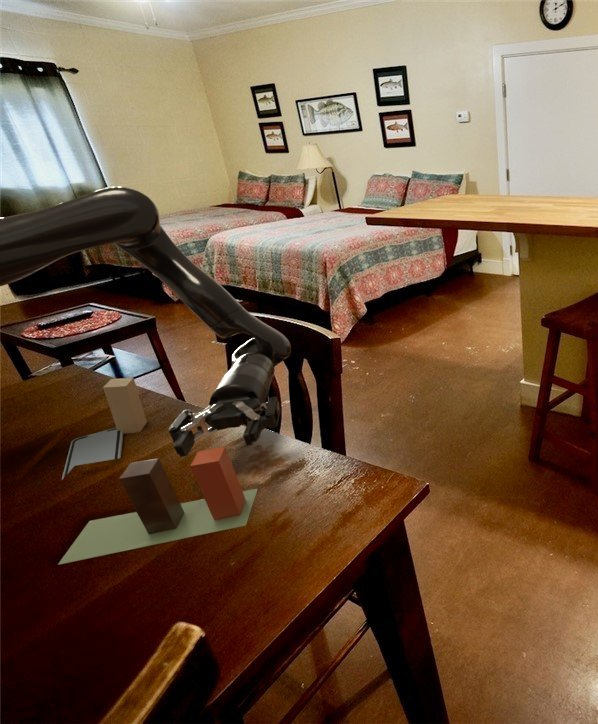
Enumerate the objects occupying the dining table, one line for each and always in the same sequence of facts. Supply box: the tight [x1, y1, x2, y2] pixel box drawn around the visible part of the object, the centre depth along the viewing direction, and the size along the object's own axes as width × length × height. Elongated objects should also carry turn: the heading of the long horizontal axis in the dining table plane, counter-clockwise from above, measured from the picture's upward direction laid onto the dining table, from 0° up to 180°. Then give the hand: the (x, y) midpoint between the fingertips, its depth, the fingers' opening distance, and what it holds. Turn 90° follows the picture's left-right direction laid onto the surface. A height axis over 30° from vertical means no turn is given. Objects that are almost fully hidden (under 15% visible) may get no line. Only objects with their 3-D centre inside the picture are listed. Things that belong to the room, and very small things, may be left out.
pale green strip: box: [57, 488, 259, 566], centre depth 68 cm, size 22×8×1 cm, turn 107°
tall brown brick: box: [118, 457, 184, 534], centre depth 66 cm, size 3×3×10 cm
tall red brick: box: [189, 446, 246, 520], centre depth 68 cm, size 3×3×10 cm
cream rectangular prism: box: [102, 377, 148, 435], centre depth 89 cm, size 3×3×10 cm
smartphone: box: [61, 427, 124, 480], centre depth 83 cm, size 7×1×15 cm
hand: (214, 446), depth 68 cm, fingers open, 8 cm apart
